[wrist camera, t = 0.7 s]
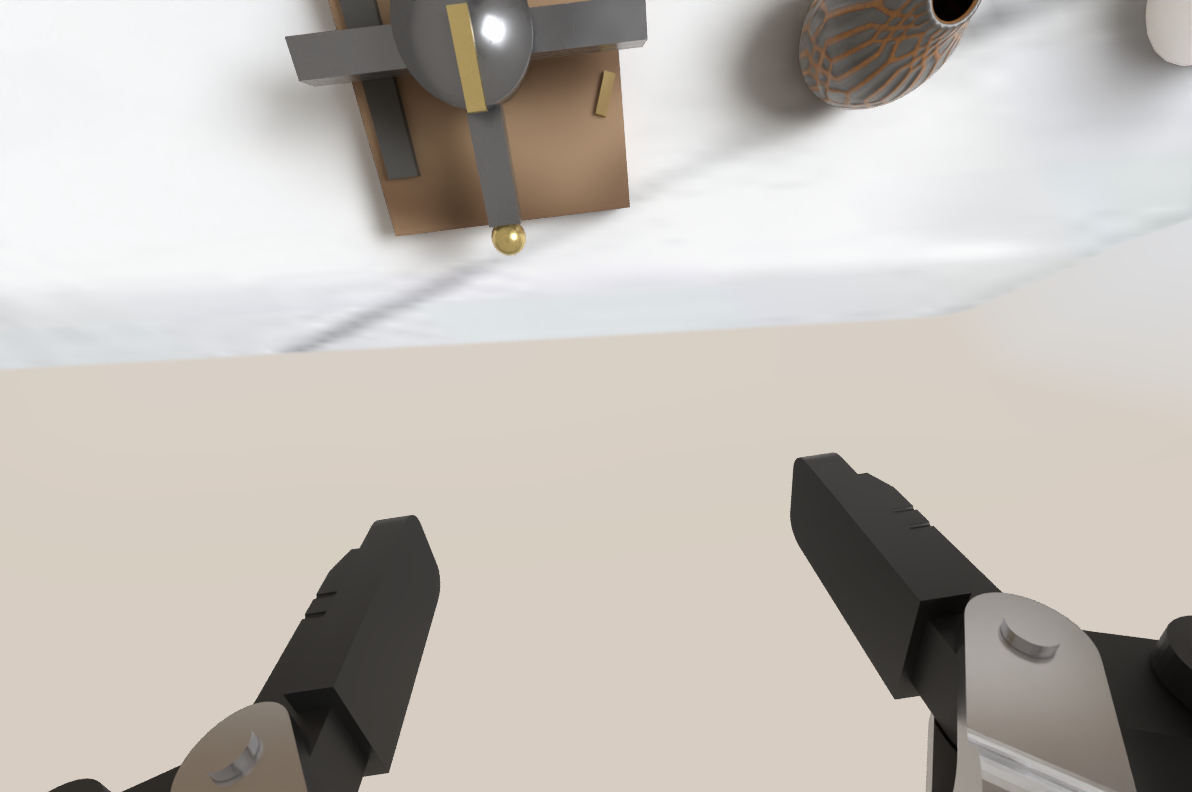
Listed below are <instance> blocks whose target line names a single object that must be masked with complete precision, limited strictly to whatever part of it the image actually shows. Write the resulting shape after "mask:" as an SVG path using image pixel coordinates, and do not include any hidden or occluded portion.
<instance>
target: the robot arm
mask: <svg viewBox="0 0 1192 792" xmlns="http://www.w3.org/2000/svg"><path fill="white" fill-rule="evenodd" d="M790 518H791V519H790V520H791V526H792V530H793V533H794V536H795V539H796V541H797V543H798V545H799V547H800V548H801V550H802V551H803V553H804V555H805V556H806V558H807V559H808V561H809V563H810V564H811V566H812V567H813V569H814V571H815V572H816V574H817V575H818V577H819V579H820V580H821V582H822V583H823V585H824V587H825V588H826V590H827V591H828V593H829V595H830V596H831V598H832V600H833V601H834V603H835V604H836V606H837V608H838V609H839V611H840V612H841V614H842V616H843V617H844V619H845V620H846V622H847V624H848V625H849V627H850V628H851V630H852V632H853V633H854V635H855V636H856V638H857V640H858V641H859V643H860V644H861V646H862V648H863V649H864V651H865V652H866V654H867V656H868V657H869V659H870V660H871V662H872V664H873V665H874V667H875V669H876V670H877V672H878V673H879V675H880V677H881V678H882V680H883V681H884V683H885V685H886V686H887V688H888V689H889V691H890V693H891V694H892V696H893V697H894V699H901V698H907V697H915V696H921V698H922V699H923V700H924V702H925V703H926V705H927V706H928V708H929V709H930V711H931V715H930V718H929V727H928V728H929V729H928V752H927V776H926V792H1192V616H1184V617H1179V618H1177V619H1175V620H1173V621H1172V622H1171V623H1170V624H1169V625H1168V626H1167V628H1166V629H1165V631H1164V633H1163V634H1162V636H1161V637H1160V639H1159V640H1152V639H1145V638H1137V637H1130V636H1122V635H1115V634H1107V633H1099V632H1091V631H1085V630H1081V629H1080V628H1079V627H1078V626H1077V625H1076V624H1075V623H1073V622H1072V621H1071V620H1069V619H1068V618H1067V617H1065V616H1064V615H1062V614H1060V613H1059V612H1057V611H1056V610H1054V609H1052V608H1050V607H1048V606H1046V605H1044V604H1042V603H1039V602H1037V601H1035V600H1032V599H1029V598H1026V597H1023V596H1019V595H1014V594H1008V593H1002V592H1001V591H1000V590H999V589H998V588H996V586H995V585H994V584H993V583H992V582H991V581H990V580H988V578H986V576H985V575H984V574H983V573H981V572H980V571H979V570H978V569H977V568H976V567H975V566H974V565H973V564H972V563H971V562H970V561H969V560H968V559H967V558H966V557H965V556H964V555H963V554H962V553H961V552H960V551H959V550H958V549H957V548H956V547H955V546H954V545H953V544H952V543H951V542H949V540H947V539H946V538H945V537H944V536H943V535H942V534H941V533H940V532H939V531H938V530H937V529H936V528H935V527H934V526H930V524H929V521H928V520H927V519H926V518H925V517H924V516H923V515H922V514H921V513H920V512H919V511H918V510H914V509H913V506H912V505H911V504H910V503H909V502H908V501H907V500H906V499H905V498H904V497H903V496H902V495H901V494H900V493H899V492H898V491H897V490H896V489H895V488H894V487H892V486H890V485H889V484H887V483H885V482H883V481H881V480H879V479H878V478H876V477H874V476H872V475H870V474H868V473H864V474H857V473H856V472H855V471H854V470H853V469H852V468H851V467H850V466H849V465H848V464H847V463H846V462H845V460H844V459H843V458H842V457H840V456H839V455H838V454H837V453H828V454H820V455H814V456H807V457H800V458H797V459H796V460H795V462H794V467H793V481H792V496H791V510H790ZM439 593H440V575H439V570H438V566H437V564H436V561H435V559H434V556H433V554H432V551H431V549H430V546H429V544H428V541H427V539H426V536H425V534H424V531H423V529H422V526H421V524H420V521H419V520H418V518H417V517H416V516H414V515H409V516H403V517H397V518H390V519H383V520H377V521H376V522H374V523H373V525H372V526H371V528H370V530H369V532H368V534H367V535H366V538H365V540H364V541H363V543H362V545H361V547H360V548H359V549H352V550H350V552H348V553H347V554H346V555H345V556H344V557H343V558H342V559H341V560H340V561H339V562H338V563H337V564H336V565H335V566H334V567H333V569H331V570H330V572H329V573H328V575H327V577H326V579H325V580H324V582H323V584H322V585H321V587H320V589H319V591H318V593H317V598H316V599H314V600H313V601H312V603H311V605H310V607H309V608H308V610H307V612H306V613H305V619H302V621H301V622H300V624H299V626H298V627H297V629H296V631H295V633H294V635H293V636H292V638H291V640H290V641H289V643H288V645H287V647H286V648H285V650H284V652H283V654H282V655H281V657H280V659H279V661H278V663H277V664H276V666H275V668H274V669H273V671H272V673H271V675H270V676H269V678H268V680H267V682H266V683H265V685H264V687H263V689H262V690H261V692H260V694H259V696H258V697H257V699H256V701H255V702H254V704H253V705H250V706H247V707H245V708H243V709H241V710H239V711H237V712H235V713H233V714H232V715H230V716H228V717H227V718H225V719H224V720H223V721H222V722H220V723H218V724H217V725H216V726H215V727H214V728H212V729H211V730H210V731H209V732H208V733H207V734H206V735H205V736H204V737H203V738H202V739H201V740H200V741H199V742H198V743H197V744H196V745H195V747H194V748H193V749H192V750H191V751H190V753H189V754H188V756H187V757H186V758H185V760H184V761H183V763H182V765H180V766H178V767H176V768H173V769H171V770H169V771H167V772H165V773H162V774H160V775H158V776H156V777H154V778H151V779H149V780H147V781H145V782H143V783H140V784H138V785H136V786H134V787H132V788H130V789H127V790H125V791H123V792H358V790H359V787H360V784H361V781H362V778H363V777H364V776H370V775H378V774H384V773H389V770H390V767H391V763H392V760H393V756H394V753H395V749H396V746H397V742H398V738H399V735H400V731H401V728H402V724H403V721H404V717H405V714H406V710H407V707H408V703H409V700H410V696H411V693H412V689H413V686H414V682H415V678H416V675H417V672H418V668H419V664H420V661H421V657H422V654H423V651H424V647H425V643H426V640H427V637H428V633H429V630H430V626H431V623H432V619H433V616H434V612H435V608H436V605H437V602H438V597H439ZM49 792H111V791H109V790H108V789H107V788H106V787H105V786H103V785H102V784H101V783H100V782H98V781H96V780H94V779H79V780H75V781H72V782H69V783H66V784H64V785H61V786H59V787H57V788H55V789H53V790H51V791H49Z"/></svg>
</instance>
